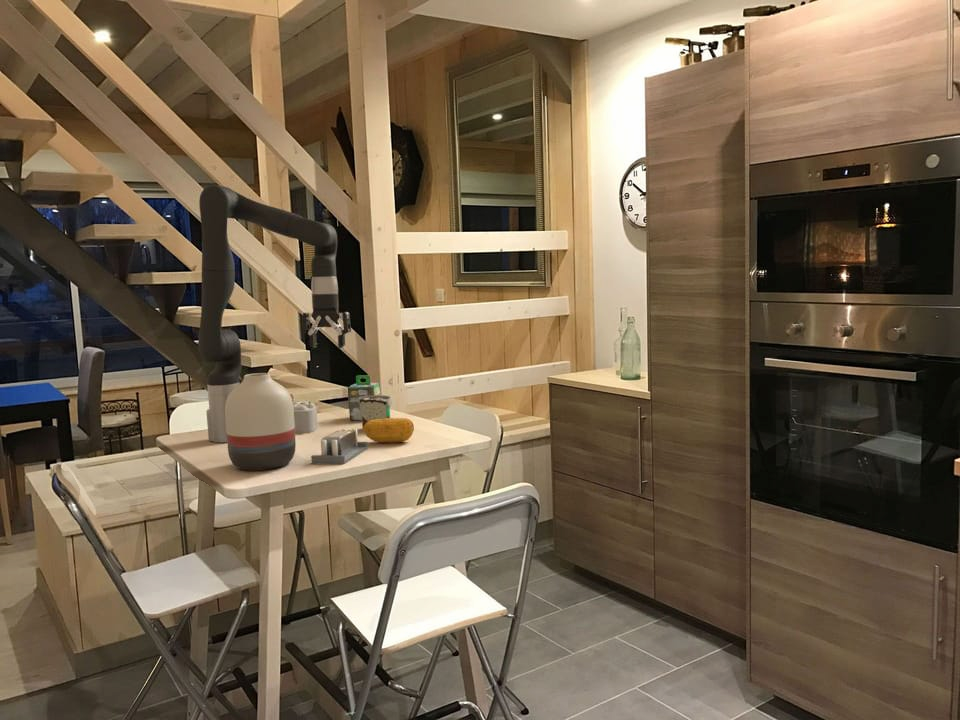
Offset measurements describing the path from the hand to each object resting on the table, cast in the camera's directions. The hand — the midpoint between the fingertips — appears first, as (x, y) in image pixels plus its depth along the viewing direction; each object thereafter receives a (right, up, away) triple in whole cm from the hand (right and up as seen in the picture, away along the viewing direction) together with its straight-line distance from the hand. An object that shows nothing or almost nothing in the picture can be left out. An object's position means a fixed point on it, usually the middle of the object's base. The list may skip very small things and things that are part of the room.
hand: (327, 347), depth 227 cm
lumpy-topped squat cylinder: (-12, -26, +19) cm, 34 cm away
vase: (-11, -31, -27) cm, 43 cm away
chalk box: (+6, -24, +34) cm, 42 cm away
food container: (+13, -25, +17) cm, 33 cm away
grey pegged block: (+7, -29, -20) cm, 36 cm away
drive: (+7, -28, -20) cm, 35 cm away
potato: (+19, -27, -5) cm, 34 cm away
